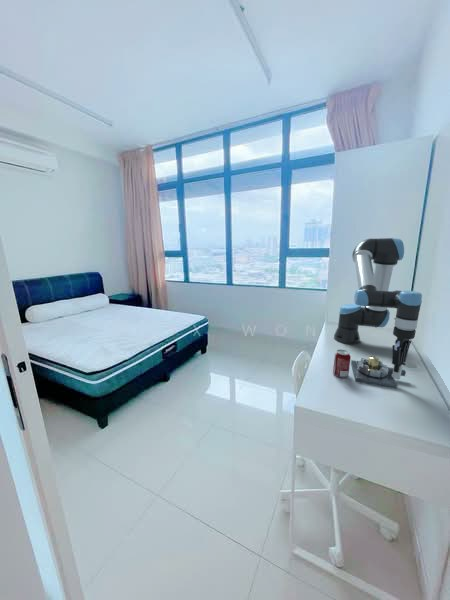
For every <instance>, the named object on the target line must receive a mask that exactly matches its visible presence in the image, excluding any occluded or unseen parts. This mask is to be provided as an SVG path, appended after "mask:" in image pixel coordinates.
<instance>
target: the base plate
mask: <svg viewBox="0 0 450 600" xmlns="http://www.w3.org/2000/svg"><path fill="white" fill-rule="evenodd" d="M368 360H369V362H368V366H369V369H373V370H380V369H378V362H379V360H380V358H379V357H377V356H374V355H369V356H368ZM359 361H360V360H352V359H350V366H351V369H352V373H353V378H354V380H355V381H354V382H356V383H363V384H367V385H373V386H379V387H386V388H388V389H389V388H390V389H397V387H398V383H397V382H396V380H395V378H393V377H392V374H388V375H387V376H384V377H374V376H369V375H366V374H364V373H363V372H361V371H360V370H359V369H358V362H359ZM384 365H385V366H387V367H388V365H386V364H384Z"/></svg>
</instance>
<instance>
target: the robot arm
mask: <svg viewBox="0 0 450 600" xmlns="http://www.w3.org/2000/svg"><path fill="white" fill-rule="evenodd" d="M404 245H405V244H404V242H403V240H402V239H401V238H393V237H391V238H390V237H389V238H388V237H387V238H383V237H382V238H367V239H364V240H362V241H360V242H359V243H358V244H357V245H356V246H355V247H354V249H353V250H352V256H351V257H352V261H353V262H354V264H355V271H356V272H355V273H356V279H357V286H358V287H357V288H358V289H356V290H355V292H354V298H353V299H354V301H353V302H354V303H347V304H343V305H341V306H340V308H339V312H338V313H339V316H338V323H337V324H338V326H337V329H336V330H335V333H334V335H333V339H334V340H335V341H337V342H340V343H342V344H348V345H356V344H357V345H358V344H359V343H360V340H361V336H360V331H359V327H360V326H361V327H371V328H384V327H385V328H386V326H387V325H388V322H389V321H390V314H391V313H390V312H391V311H390V310H389V309H396V312H395V313H396V314H395V317H394V318H393V319H394V327H393V331H392V334H393V337H394V336H395V337H396V339H395V341H394V345H392V346H391V347H392V355H391V356H392V358H391V364H392V365H393V367H392V368H393V374H392V377H393V378H394V379H396V380H400V379H401V377H402V376H401V372H402V369H403V366H406V361H407V357H408V352H409V350H410V346H411V344H412V340H413V339H414V338H415V337H416V329H417V328H418V321H419V315H420V310H421V305H422V302H423V301H422V299H423V294H422V293H421V292H419V291H414V290H392V291H391V290H390V291H389V288H390V283H391V278H392V273H393V269H394V267H395V266H396V265H398V262H400V261H402V260H403V258H404V257H405V256H404V255H405V246H404ZM372 261H373V262H372ZM373 264H374V265H375V267H374V268H373Z"/></svg>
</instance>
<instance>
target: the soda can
mask: <svg viewBox="0 0 450 600" xmlns="http://www.w3.org/2000/svg"><path fill="white" fill-rule="evenodd" d="M350 366H351V355H350V352H349V351H348V350H346V349H341V348H340V349H336V352H335V353H334V359H333V366H332V374H333V375H335V376H336V377H338V378H347V377H348V376H349V374H350V373H349V371H350Z"/></svg>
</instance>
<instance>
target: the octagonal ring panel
mask: <svg viewBox="0 0 450 600" xmlns="http://www.w3.org/2000/svg"><path fill="white" fill-rule="evenodd" d="M358 361H359V362H358V369H359V370H360V371H361V372H363V373H364V374H366V375H369V376H374V377H384V376H387V375H388V374H393V368H394V367H390V366H388V365H387V366H385V365H386V364H384V362H383V361H382V360H380V359H379V362H378V369H380V370H373V369H369V366H368V362H369V359H366V358H361V359H360V360H358ZM406 373H407V371H406V370H405V369H403V368H402V372H401V377H406Z"/></svg>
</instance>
